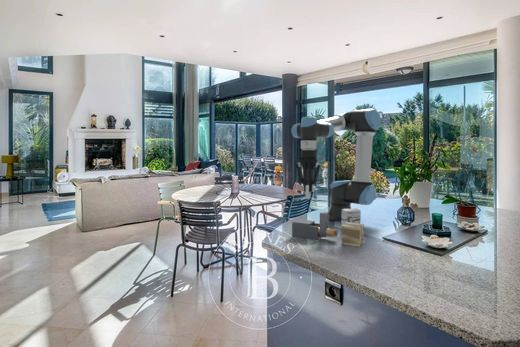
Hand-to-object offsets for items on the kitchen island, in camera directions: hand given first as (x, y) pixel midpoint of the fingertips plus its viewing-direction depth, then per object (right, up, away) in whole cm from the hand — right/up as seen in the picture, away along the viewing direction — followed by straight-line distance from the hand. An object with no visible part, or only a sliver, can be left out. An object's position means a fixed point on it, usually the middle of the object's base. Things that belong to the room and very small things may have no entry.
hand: (308, 198), depth 161 cm
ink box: (+24, -18, +11) cm, 32 cm away
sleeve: (0, -19, +2) cm, 19 cm away
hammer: (+5, -18, -1) cm, 18 cm away
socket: (+19, -20, -8) cm, 29 cm away
